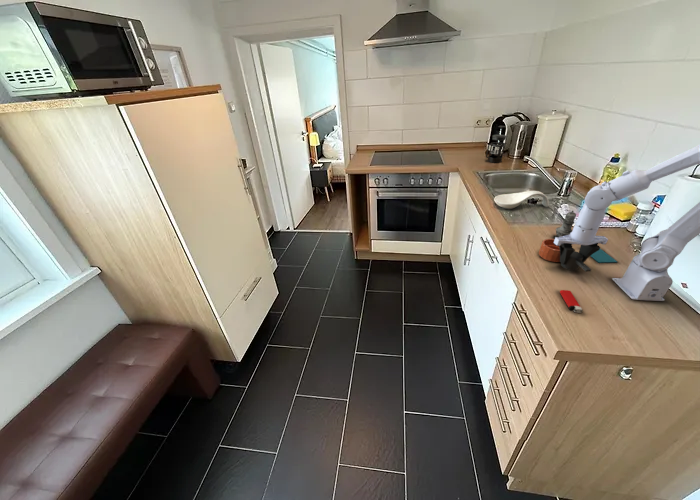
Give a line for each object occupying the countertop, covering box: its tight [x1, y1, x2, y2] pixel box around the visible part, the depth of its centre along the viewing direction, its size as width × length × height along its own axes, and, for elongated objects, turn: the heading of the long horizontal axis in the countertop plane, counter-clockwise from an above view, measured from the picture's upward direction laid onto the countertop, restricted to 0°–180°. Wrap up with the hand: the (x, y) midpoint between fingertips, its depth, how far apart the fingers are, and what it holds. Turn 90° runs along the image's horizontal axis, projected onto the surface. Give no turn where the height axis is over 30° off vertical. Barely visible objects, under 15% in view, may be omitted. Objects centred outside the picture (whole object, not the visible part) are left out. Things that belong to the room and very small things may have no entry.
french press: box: [485, 125, 508, 164], centre depth 194 cm, size 12×9×23 cm
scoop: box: [560, 250, 592, 272], centre depth 91 cm, size 10×5×5 cm, turn 178°
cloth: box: [590, 248, 618, 264], centre depth 99 cm, size 6×9×1 cm, turn 178°
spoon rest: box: [493, 190, 550, 210], centre depth 135 cm, size 24×12×7 cm, turn 86°
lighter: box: [559, 289, 584, 314], centre depth 81 cm, size 3×1×8 cm
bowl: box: [538, 238, 561, 263], centre depth 99 cm, size 8×8×5 cm
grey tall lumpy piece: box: [553, 209, 577, 239], centre depth 107 cm, size 6×6×12 cm
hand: (570, 262), depth 93 cm, fingers closed on scoop, 5 cm apart
